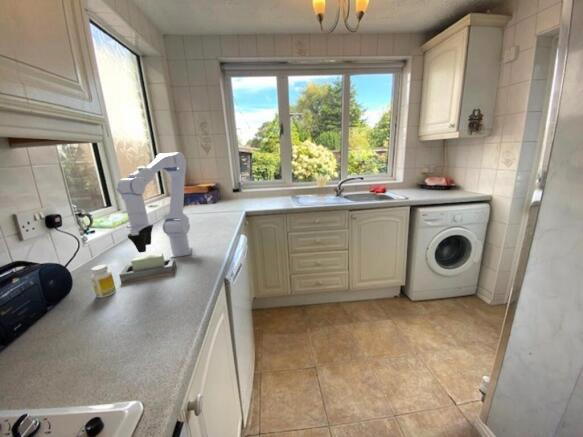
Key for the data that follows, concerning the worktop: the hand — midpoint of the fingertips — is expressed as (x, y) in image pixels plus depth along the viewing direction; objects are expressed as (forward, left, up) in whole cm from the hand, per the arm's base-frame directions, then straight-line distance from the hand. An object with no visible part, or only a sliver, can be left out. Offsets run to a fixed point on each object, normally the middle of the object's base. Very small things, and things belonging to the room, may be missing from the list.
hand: (145, 248), depth 93 cm
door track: (0, 0, -10) cm, 10 cm away
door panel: (0, 0, -10) cm, 10 cm away
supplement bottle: (+10, -11, -11) cm, 18 cm away
